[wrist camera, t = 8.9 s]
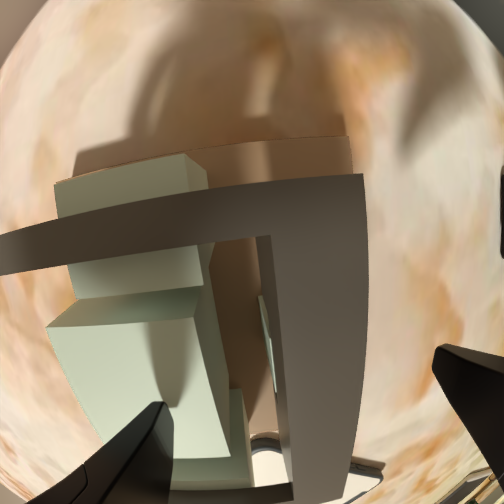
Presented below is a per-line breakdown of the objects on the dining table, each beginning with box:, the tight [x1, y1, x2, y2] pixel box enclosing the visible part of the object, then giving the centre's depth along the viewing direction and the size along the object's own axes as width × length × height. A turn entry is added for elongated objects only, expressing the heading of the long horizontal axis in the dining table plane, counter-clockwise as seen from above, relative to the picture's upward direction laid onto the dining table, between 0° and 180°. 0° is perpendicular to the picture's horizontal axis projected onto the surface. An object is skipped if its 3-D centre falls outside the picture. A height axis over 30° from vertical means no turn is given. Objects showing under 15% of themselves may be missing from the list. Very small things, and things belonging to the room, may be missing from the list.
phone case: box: [250, 438, 383, 504], centre depth 19 cm, size 9×2×16 cm
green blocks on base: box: [46, 136, 353, 490], centre depth 11 cm, size 14×16×8 cm
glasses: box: [0, 173, 369, 504], centre depth 9 cm, size 9×12×4 cm
